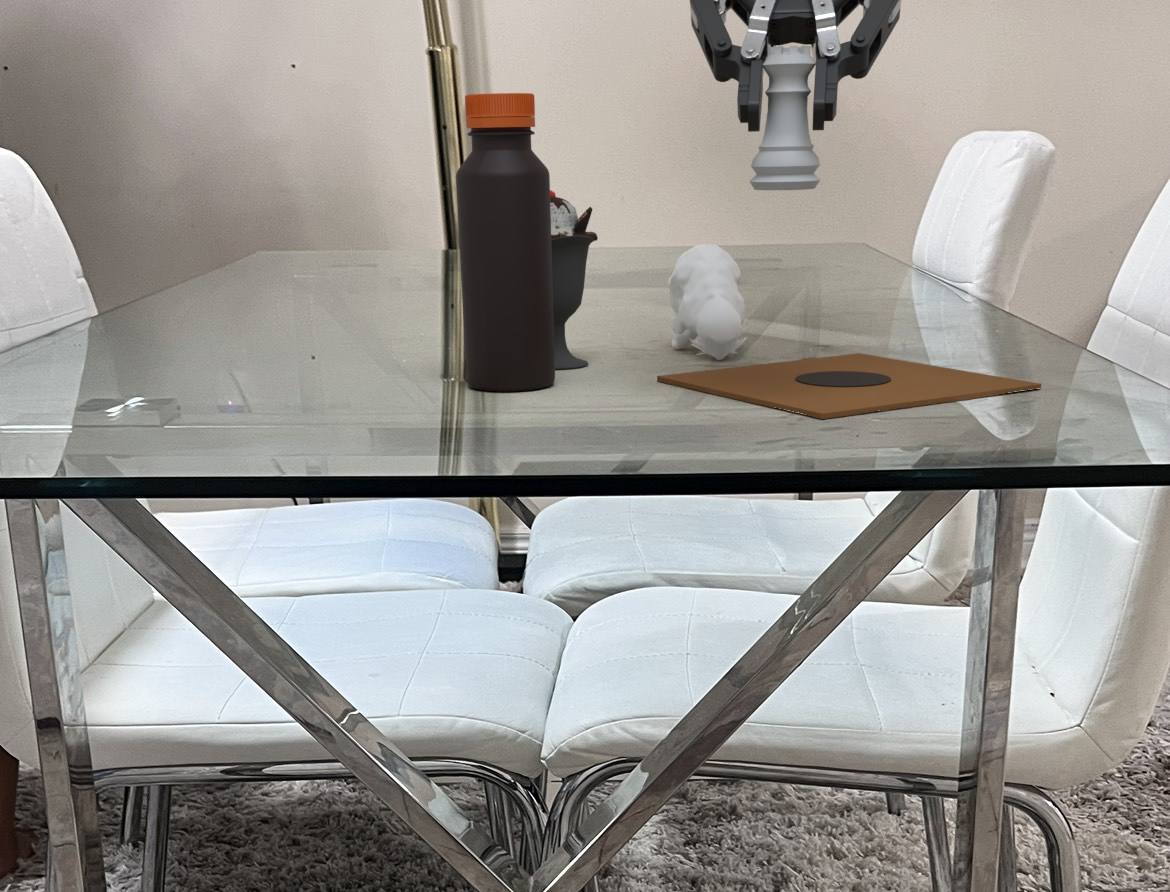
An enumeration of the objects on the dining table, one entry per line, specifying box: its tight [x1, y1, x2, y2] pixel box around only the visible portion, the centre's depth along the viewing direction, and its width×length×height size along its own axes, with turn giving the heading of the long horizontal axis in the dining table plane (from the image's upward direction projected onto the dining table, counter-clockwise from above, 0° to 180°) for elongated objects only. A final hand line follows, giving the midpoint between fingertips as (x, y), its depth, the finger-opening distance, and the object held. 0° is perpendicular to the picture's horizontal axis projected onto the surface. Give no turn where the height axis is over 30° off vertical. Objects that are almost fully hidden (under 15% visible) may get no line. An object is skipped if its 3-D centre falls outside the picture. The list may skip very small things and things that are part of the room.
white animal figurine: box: [667, 243, 748, 361], centre depth 119 cm, size 6×8×12 cm
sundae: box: [550, 189, 599, 371], centre depth 113 cm, size 7×7×15 cm
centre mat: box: [656, 352, 1042, 420], centre depth 104 cm, size 20×20×1 cm
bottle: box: [455, 92, 556, 393], centre depth 103 cm, size 7×7×20 cm
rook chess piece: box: [749, 45, 821, 191], centre depth 87 cm, size 4×4×8 cm
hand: (786, 119), depth 85 cm, fingers closed on rook chess piece, 3 cm apart
